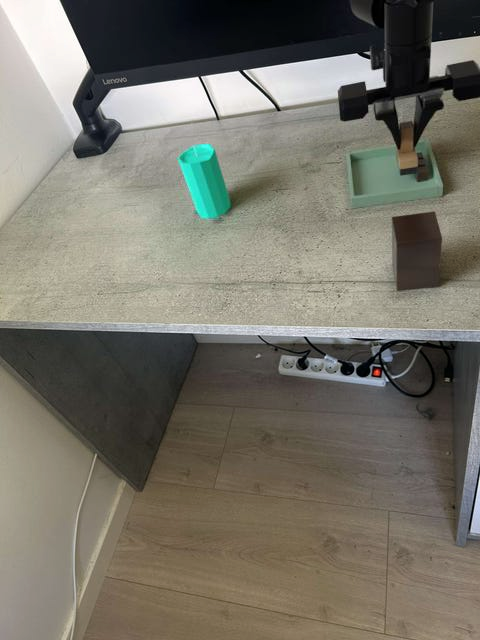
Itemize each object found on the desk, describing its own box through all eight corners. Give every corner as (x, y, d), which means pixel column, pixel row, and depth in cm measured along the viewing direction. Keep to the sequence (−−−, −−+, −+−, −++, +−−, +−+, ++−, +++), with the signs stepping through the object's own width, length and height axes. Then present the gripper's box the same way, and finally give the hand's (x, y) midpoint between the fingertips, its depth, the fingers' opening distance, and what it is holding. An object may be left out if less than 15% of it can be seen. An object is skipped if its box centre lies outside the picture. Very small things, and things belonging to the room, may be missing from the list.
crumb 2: (425, 168, 77) (425, 159, 76) (424, 173, 76) (425, 164, 75) (414, 168, 78) (415, 159, 76) (413, 174, 77) (414, 165, 75)
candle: (201, 223, 82) (178, 160, 74) (194, 204, 86) (172, 142, 78) (234, 211, 82) (215, 146, 74) (226, 193, 86) (207, 130, 78)
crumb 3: (425, 174, 76) (425, 165, 75) (427, 180, 75) (428, 171, 74) (414, 176, 76) (415, 167, 75) (417, 182, 75) (417, 173, 74)
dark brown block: (431, 260, 64) (435, 211, 59) (438, 287, 61) (442, 237, 55) (392, 264, 66) (391, 216, 60) (396, 291, 62) (396, 243, 56)
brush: (395, 155, 78) (394, 116, 74) (412, 152, 78) (413, 113, 73) (399, 176, 74) (399, 136, 70) (417, 173, 74) (418, 133, 69)
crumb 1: (421, 160, 78) (422, 151, 77) (422, 166, 77) (423, 157, 76) (410, 162, 79) (411, 153, 78) (412, 167, 78) (412, 158, 77)
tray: (428, 149, 81) (428, 138, 79) (442, 196, 72) (443, 185, 71) (346, 162, 84) (346, 152, 83) (351, 208, 75) (350, 198, 74)
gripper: (472, -2, 66) (461, 110, 77) (332, 30, 70) (341, 131, 81) (493, 29, 58) (477, 147, 70) (335, 61, 63) (344, 168, 74)
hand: (406, 147), depth 74 cm, fingers closed on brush, 2 cm apart
